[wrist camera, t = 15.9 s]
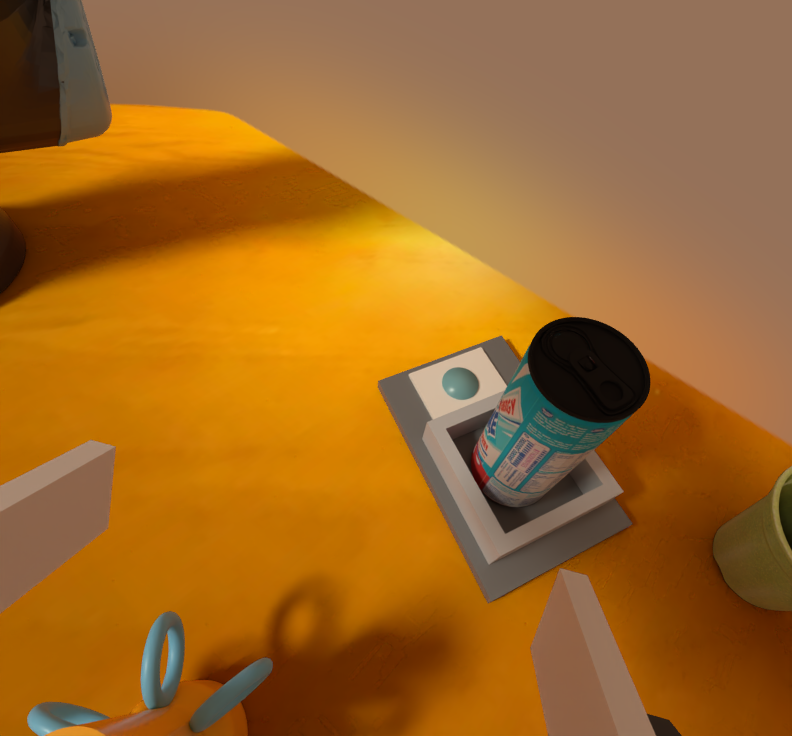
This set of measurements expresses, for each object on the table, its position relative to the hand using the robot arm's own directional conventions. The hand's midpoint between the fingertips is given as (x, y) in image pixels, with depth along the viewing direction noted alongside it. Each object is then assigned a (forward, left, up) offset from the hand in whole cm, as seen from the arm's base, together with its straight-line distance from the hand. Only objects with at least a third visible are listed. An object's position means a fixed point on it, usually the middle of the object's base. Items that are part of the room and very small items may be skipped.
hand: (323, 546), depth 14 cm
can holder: (-5, +15, -21) cm, 26 cm away
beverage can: (-4, +15, -20) cm, 25 cm away
